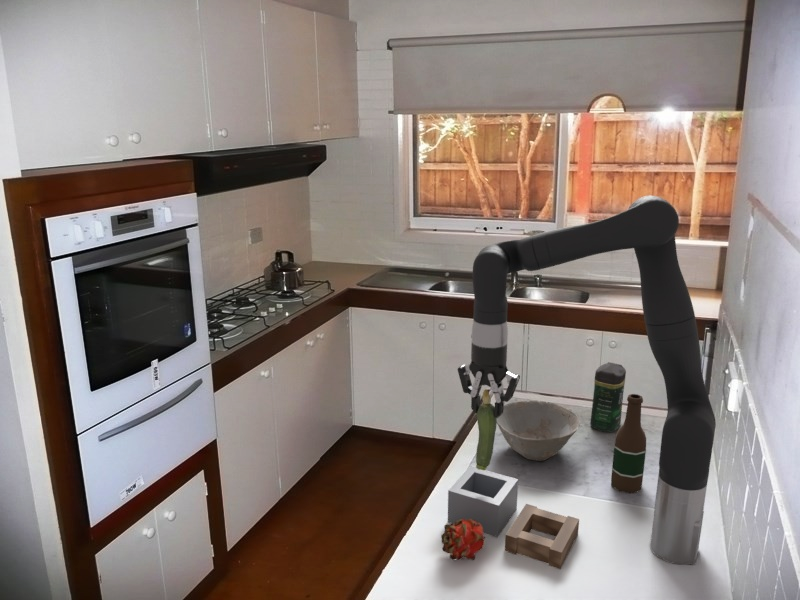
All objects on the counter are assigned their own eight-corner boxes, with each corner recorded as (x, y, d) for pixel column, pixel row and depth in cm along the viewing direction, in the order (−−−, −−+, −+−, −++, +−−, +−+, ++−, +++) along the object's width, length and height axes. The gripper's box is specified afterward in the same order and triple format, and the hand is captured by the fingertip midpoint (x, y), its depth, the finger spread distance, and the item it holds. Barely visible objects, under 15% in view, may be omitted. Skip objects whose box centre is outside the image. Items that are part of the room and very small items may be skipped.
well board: (577, 534, 148) (579, 519, 147) (560, 569, 137) (561, 552, 136) (525, 518, 154) (526, 503, 153) (504, 550, 143) (505, 534, 142)
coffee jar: (614, 435, 192) (620, 374, 187) (586, 428, 196) (592, 368, 191) (623, 422, 200) (629, 363, 194) (597, 415, 204) (602, 358, 198)
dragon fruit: (441, 574, 138) (473, 552, 148) (472, 566, 133) (503, 544, 143) (425, 533, 140) (458, 515, 150) (455, 524, 135) (487, 505, 144)
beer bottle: (648, 484, 167) (658, 395, 160) (634, 497, 162) (644, 406, 155) (618, 473, 172) (627, 386, 166) (604, 485, 167) (612, 396, 160)
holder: (516, 509, 157) (518, 479, 155) (497, 537, 147) (498, 505, 145) (469, 495, 163) (470, 465, 161) (447, 521, 153) (448, 490, 151)
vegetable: (482, 462, 155) (485, 381, 149) (498, 468, 152) (502, 386, 146) (471, 470, 151) (473, 388, 146) (488, 477, 149) (491, 393, 143)
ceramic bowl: (487, 467, 176) (488, 432, 173) (500, 427, 197) (501, 396, 194) (575, 480, 169) (577, 444, 167) (579, 437, 191) (581, 405, 188)
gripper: (527, 340, 143) (524, 414, 148) (465, 329, 149) (464, 400, 154) (515, 351, 136) (511, 428, 141) (451, 340, 143) (450, 413, 148)
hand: (486, 413), depth 148 cm, fingers closed on vegetable, 4 cm apart
